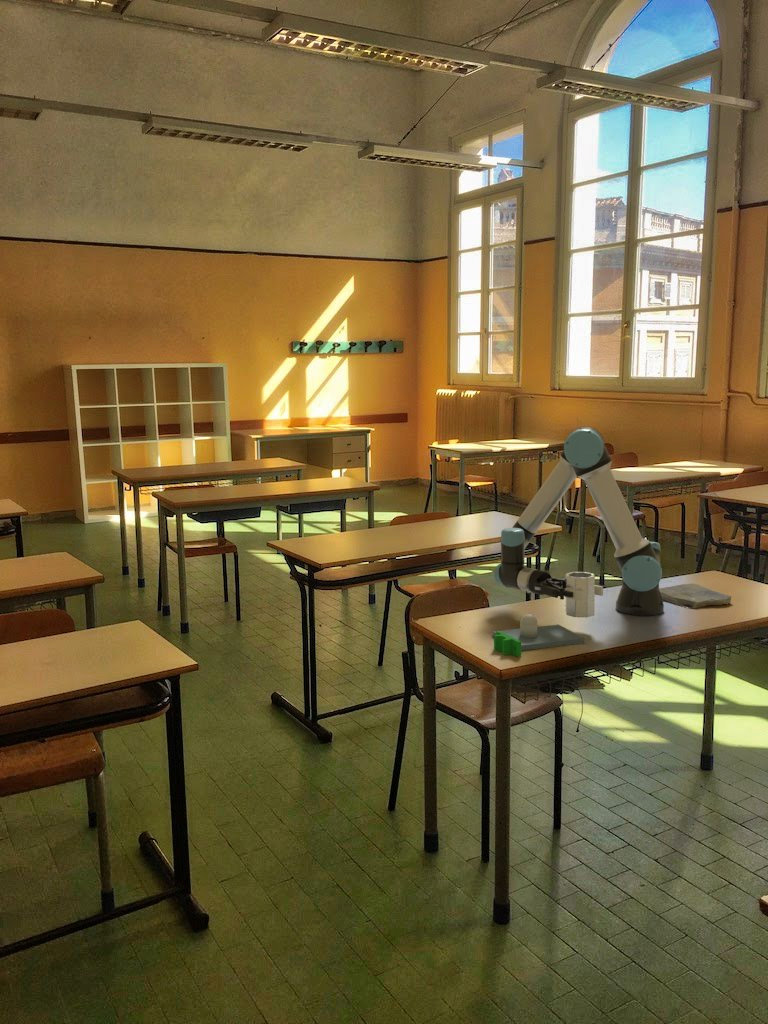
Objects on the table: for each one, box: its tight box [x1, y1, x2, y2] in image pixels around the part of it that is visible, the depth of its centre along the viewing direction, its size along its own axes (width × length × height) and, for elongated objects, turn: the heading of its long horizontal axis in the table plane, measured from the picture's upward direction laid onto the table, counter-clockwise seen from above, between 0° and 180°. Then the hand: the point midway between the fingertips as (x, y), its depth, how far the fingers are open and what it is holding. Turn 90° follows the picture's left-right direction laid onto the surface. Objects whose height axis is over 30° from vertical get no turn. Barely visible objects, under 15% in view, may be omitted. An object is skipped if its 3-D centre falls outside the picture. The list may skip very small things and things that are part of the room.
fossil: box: [659, 583, 732, 609], centre depth 294 cm, size 20×5×17 cm
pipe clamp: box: [493, 630, 522, 658], centre depth 241 cm, size 11×4×5 cm, turn 25°
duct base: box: [492, 613, 585, 652], centre depth 251 cm, size 22×15×8 cm
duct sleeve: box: [565, 571, 596, 618], centre depth 258 cm, size 8×8×12 cm
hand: (592, 593), depth 254 cm, fingers closed on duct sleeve, 8 cm apart
